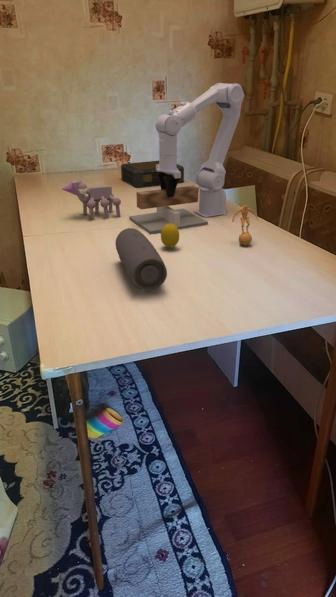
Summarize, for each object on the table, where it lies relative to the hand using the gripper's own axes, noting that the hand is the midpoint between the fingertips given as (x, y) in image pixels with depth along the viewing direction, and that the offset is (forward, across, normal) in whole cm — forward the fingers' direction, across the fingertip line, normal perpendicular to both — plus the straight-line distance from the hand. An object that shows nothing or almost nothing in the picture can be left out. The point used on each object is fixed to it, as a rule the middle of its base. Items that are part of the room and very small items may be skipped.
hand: (167, 195), depth 150 cm
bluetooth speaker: (+10, +37, -27) cm, 47 cm away
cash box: (+10, -59, +22) cm, 64 cm away
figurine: (+10, +30, +11) cm, 33 cm away
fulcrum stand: (+9, 0, 0) cm, 9 cm away
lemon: (+10, +23, -11) cm, 27 cm away
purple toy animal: (+10, -18, -22) cm, 30 cm away
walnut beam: (+3, 0, 0) cm, 3 cm away
